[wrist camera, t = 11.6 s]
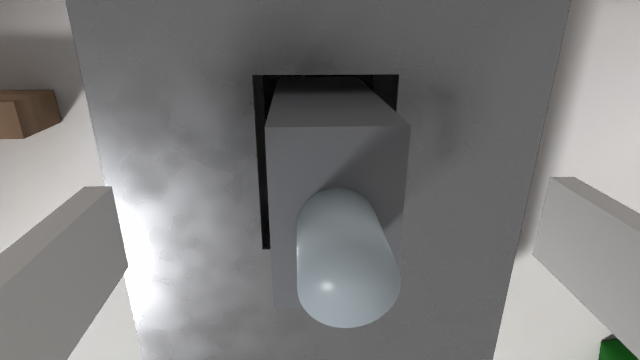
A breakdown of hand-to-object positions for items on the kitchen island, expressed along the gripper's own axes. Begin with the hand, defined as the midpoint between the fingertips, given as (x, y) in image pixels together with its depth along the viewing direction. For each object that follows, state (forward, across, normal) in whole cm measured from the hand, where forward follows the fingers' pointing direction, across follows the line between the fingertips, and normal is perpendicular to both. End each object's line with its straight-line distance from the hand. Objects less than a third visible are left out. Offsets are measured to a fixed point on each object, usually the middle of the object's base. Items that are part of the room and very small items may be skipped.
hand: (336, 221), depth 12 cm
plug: (+10, 0, 0) cm, 10 cm away
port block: (+10, 0, 0) cm, 10 cm away
